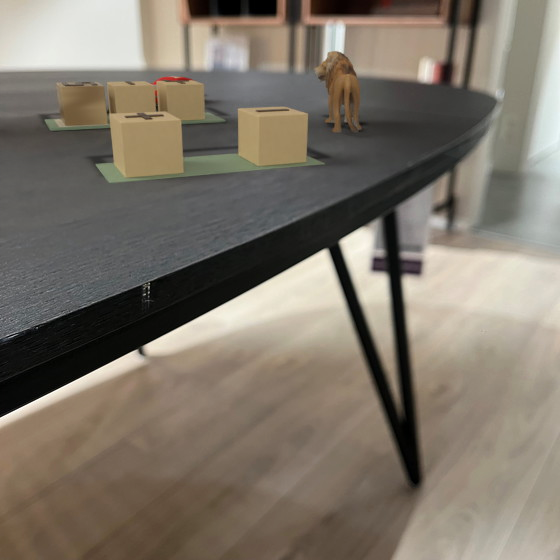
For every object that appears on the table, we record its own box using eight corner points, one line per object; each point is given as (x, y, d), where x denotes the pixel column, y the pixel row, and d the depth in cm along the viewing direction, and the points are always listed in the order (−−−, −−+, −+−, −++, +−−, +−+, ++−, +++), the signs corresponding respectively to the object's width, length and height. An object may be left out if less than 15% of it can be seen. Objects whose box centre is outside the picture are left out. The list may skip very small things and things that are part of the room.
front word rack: (109, 186, 46) (103, 124, 44) (95, 167, 52) (89, 111, 50) (325, 166, 54) (328, 113, 52) (292, 152, 60) (293, 103, 58)
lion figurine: (309, 118, 81) (312, 49, 77) (346, 118, 82) (350, 50, 78) (336, 137, 68) (341, 56, 64) (379, 137, 69) (386, 57, 65)
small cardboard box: (65, 126, 69) (60, 85, 67) (60, 119, 73) (55, 81, 71) (107, 123, 71) (104, 84, 69) (100, 117, 75) (97, 80, 73)
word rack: (50, 131, 67) (44, 87, 65) (44, 121, 73) (39, 81, 71) (225, 122, 76) (224, 83, 74) (208, 114, 82) (207, 78, 80)
